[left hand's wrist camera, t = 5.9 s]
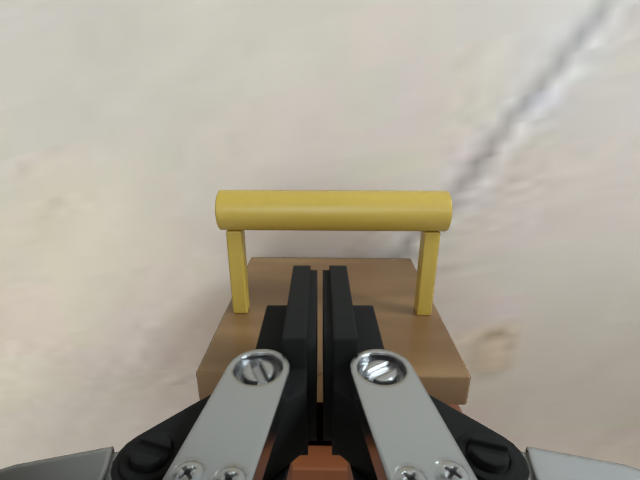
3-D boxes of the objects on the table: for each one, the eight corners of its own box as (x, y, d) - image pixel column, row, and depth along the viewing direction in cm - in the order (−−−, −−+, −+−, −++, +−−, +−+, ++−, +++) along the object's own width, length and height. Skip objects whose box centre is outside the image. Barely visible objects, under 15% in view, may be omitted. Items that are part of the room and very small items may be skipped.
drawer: (244, 165, 20) (173, 222, 11) (419, 165, 20) (498, 224, 11) (266, 488, 28) (237, 677, 19) (389, 490, 28) (420, 682, 19)
